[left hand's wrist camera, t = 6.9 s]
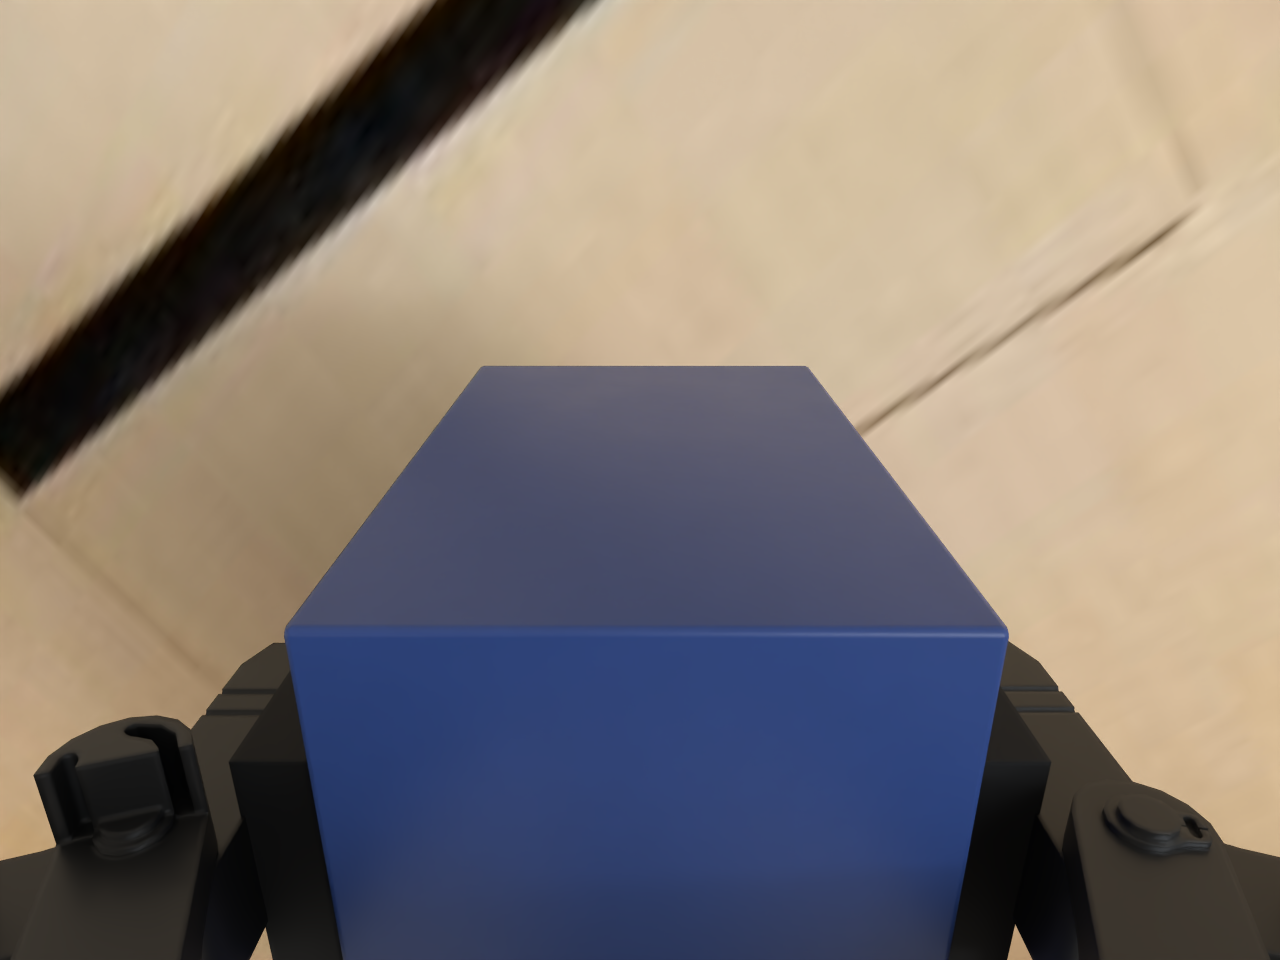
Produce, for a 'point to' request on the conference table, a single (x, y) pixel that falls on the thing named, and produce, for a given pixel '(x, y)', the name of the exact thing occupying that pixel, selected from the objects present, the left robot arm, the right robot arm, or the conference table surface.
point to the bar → (645, 683)
